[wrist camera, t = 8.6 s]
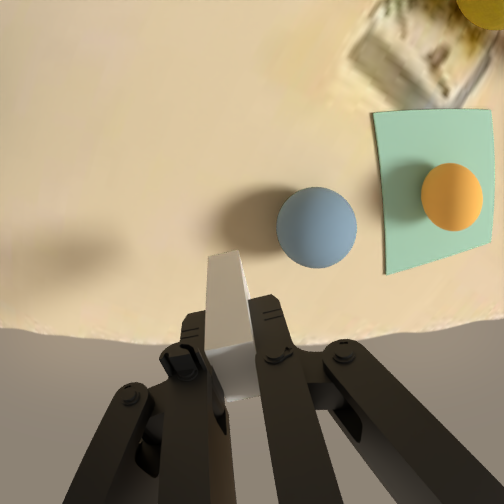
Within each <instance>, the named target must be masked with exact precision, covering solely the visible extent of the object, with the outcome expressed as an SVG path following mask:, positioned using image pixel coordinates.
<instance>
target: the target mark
mask: <svg viewBox="0 0 504 504" xmlns="http://www.w3.org/2000/svg"><path fill="white" fill-rule="evenodd" d="M372 114H373V120H374V126H375V133H376V140H377V148H378V156H379V164H380V174H381V184H382V196H383V210H384V228H385V261H386V275H390V274H393V273H396V272H400V271H403V270H407V269H410V268H413V267H417V266H420V265H423V264H427V263H430V262H433V261H436V260H439V259H442V258H446V257H449V256H452V255H455V254H458V253H461V252H464V251H467V250H470V249H473V248H476V247H479V246H482V245H485V244H488V243H490V242H491V237H492V226H493V213H494V192H495V157H494V137H493V124H492V114H491V110H483V109H428V110H405V111H390V112H377V113H372ZM444 163H456V164H459V165H462V166H464V167H466V168H467V169H469V170H470V171H471V172H472V173H473V174H474V175H475V177H476V178H477V179H478V181H479V183H480V186H481V189H482V194H483V205H482V209H481V212H480V215H479V216H478V218H477V219H476V221H475V222H474V223H473V224H472V225H471V226H469V227H468V228H466V229H464V230H460V231H447V230H444V229H441V228H439V227H438V226H436V225H435V224H434V223H433V222H432V221H431V220H430V219H429V218H428V216H427V215H426V213H425V211H424V209H423V205H422V201H421V189H422V185H423V182H424V180H425V178H426V176H427V175H428V173H429V172H430V171H431V170H432V169H433V168H435V167H437V166H438V165H441V164H444Z"/></svg>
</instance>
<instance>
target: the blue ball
mask: <svg viewBox="0 0 504 504" xmlns="http://www.w3.org/2000/svg"><path fill="white" fill-rule="evenodd" d="M276 231H277V237H278V240H279V243H280V245H281V247H282V249H283V250H284V252H285V253H286V254H287V256H288V257H289V258H291V259H292V260H293V261H295V262H296V263H298V264H300V265H302V266H305V267H309V268H325V267H329V266H331V265H334V264H336V263H338V262H339V261H340V260H342V259H343V258H344V257H345V256H346V255H347V254H348V253H349V251H350V250H351V248H352V246H353V244H354V241H355V238H356V233H357V224H356V218H355V214H354V212H353V210H352V208H351V206H350V205H349V203H348V202H347V201H346V200H345V199H344V198H343V197H342V196H341V195H339V194H338V193H336V192H334V191H332V190H330V189H327V188H322V187H311V188H306V189H303V190H300V191H298V192H296V193H295V194H293V195H292V196H291V197H289V198H288V199H287V200H286V202H285V203H284V204H283V206H282V208H281V210H280V211H279V214H278V218H277V224H276Z"/></svg>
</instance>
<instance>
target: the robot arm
mask: <svg viewBox="0 0 504 504" xmlns="http://www.w3.org/2000/svg"><path fill="white" fill-rule="evenodd" d="M180 339H181V340H180V342H178V343H174V344H172V345H170V346H169V347H167V348H166V349H165V350H164V351H163V352H162V353H161V355H160V357H159V360H160V362H161V364H162V366H163V367H164V369H165V371H166V373H167V374H168V376H169V377H168V379H167V380H166V381H164V382H162V383H160V384H158V385H156V386H153V387H151V388H148V389H147V387H146V386H145V385H143V384H141V383H138V382H135V383H129V384H126V385H124V386H123V387H121V388H120V389H119V390H118V391H117V392H116V394H115V396H114V397H113V399H112V401H111V403H110V405H109V407H108V409H107V411H106V413H105V415H104V417H103V418H102V420H101V423H100V425H99V426H98V429H97V430H96V433H95V434H94V437H93V439H92V441H91V443H90V445H89V447H88V449H87V451H86V453H85V455H84V457H83V459H82V462H81V464H80V466H79V468H78V470H77V472H76V474H75V477H74V479H73V481H72V483H71V485H70V487H69V490H68V492H67V494H66V496H65V499H64V501H63V503H62V504H237V503H236V492H235V482H234V472H233V461H232V449H231V437H230V425H229V414H228V411H227V408H226V406H225V401H224V396H225V398H226V400H227V402H232V401H237V400H243V399H248V398H253V397H257V396H261V402H262V408H263V413H264V420H265V426H266V432H267V438H268V444H269V450H270V455H271V462H272V467H273V473H274V479H275V485H276V490H277V496H278V501H279V504H343V500H342V497H341V493H340V490H339V487H338V484H337V480H336V477H335V473H334V470H333V467H332V464H331V460H330V457H329V454H328V450H327V447H326V444H325V440H324V437H323V434H322V431H321V427H320V424H319V421H318V418H317V414H316V411H315V410H328V412H329V413H330V414H331V416H332V417H333V419H334V420H335V421H336V423H337V424H338V425H339V427H340V428H341V430H342V431H343V432H344V434H345V435H346V436H347V438H348V439H349V440H350V442H351V443H352V444H353V446H354V447H355V449H356V450H357V451H358V453H359V454H360V455H361V456H362V458H363V459H364V461H365V462H366V463H367V464H368V466H369V467H370V469H371V470H372V471H373V473H374V474H375V475H376V477H377V478H378V479H379V480H380V482H381V483H382V484H383V486H384V487H385V488H386V490H387V491H388V492H389V493H390V495H391V496H392V497H393V499H394V500H395V501H396V503H397V504H504V487H503V486H502V485H501V484H500V482H498V480H497V479H496V478H495V477H494V476H493V475H492V474H491V473H490V472H489V471H488V470H487V469H486V468H485V467H484V466H483V465H482V464H481V463H480V462H479V461H478V460H477V459H476V458H475V457H474V456H473V455H472V454H471V453H470V452H469V451H468V450H467V449H466V448H465V447H464V446H463V445H462V444H461V443H460V442H459V441H458V440H457V439H456V438H455V437H454V436H453V435H452V434H451V433H450V432H449V431H448V430H447V429H446V428H445V427H444V426H443V425H442V424H441V423H440V422H439V421H438V420H437V419H436V418H435V417H434V416H433V415H432V414H431V413H430V412H429V411H428V410H427V409H426V408H425V407H424V406H423V405H422V404H421V403H420V402H419V401H418V400H417V399H416V398H415V397H414V396H413V395H412V394H411V393H410V392H409V391H408V390H407V389H406V388H405V387H404V386H403V385H402V384H401V383H400V382H399V381H398V380H397V379H396V378H395V377H394V376H393V375H392V374H391V373H390V372H389V371H388V370H387V369H386V368H385V367H384V366H383V365H382V364H381V363H380V362H379V361H378V360H377V359H376V358H375V357H374V356H373V355H372V354H371V353H370V352H369V351H368V350H367V349H366V348H365V347H364V346H363V345H361V344H360V343H358V342H357V341H354V340H350V339H340V340H337V341H334V342H332V343H330V344H329V345H328V346H327V347H326V348H325V350H324V351H323V352H308V351H304V350H301V349H299V348H297V347H296V346H295V345H294V344H293V342H292V340H291V337H290V333H289V330H288V327H287V324H286V321H285V318H284V314H283V311H282V308H281V305H280V302H279V300H278V299H277V298H276V297H274V296H273V295H272V294H270V295H266V296H262V297H258V298H253V299H251V298H250V293H249V290H248V286H247V282H246V278H245V274H244V270H243V266H242V262H241V258H240V255H239V251H238V250H234V251H230V252H226V253H222V254H217V255H213V256H209V257H208V267H207V288H206V310H204V311H199V312H194V313H190V314H188V315H187V316H186V318H185V319H184V321H183V322H182V328H181V336H180Z"/></svg>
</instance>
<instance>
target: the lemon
mask: <svg viewBox="0 0 504 504" xmlns="http://www.w3.org/2000/svg"><path fill="white" fill-rule="evenodd" d="M456 1H457V5H458V7H459V9H460V10H461V12H462V13H463V15H464V16H465V17H466V18H467V19H468V20H469V21H470V22H472V23H473V24H475V25H476V26H479V27H481V28H483V29H487V30H503V29H504V0H456Z"/></svg>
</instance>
